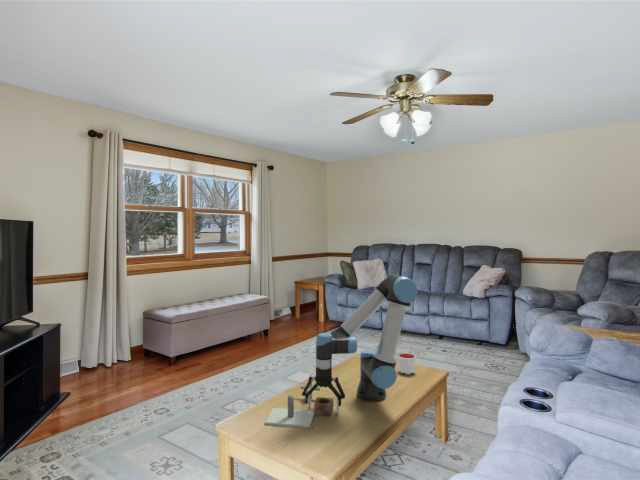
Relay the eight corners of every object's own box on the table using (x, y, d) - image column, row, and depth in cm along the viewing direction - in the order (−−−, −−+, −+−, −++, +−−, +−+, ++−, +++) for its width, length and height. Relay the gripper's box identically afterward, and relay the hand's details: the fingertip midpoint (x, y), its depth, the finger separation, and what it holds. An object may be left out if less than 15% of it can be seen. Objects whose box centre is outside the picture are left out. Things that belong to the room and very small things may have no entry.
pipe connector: (317, 403, 189) (317, 383, 189) (298, 401, 191) (298, 381, 191) (321, 394, 199) (321, 375, 199) (303, 393, 201) (303, 374, 201)
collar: (333, 408, 183) (333, 398, 183) (331, 416, 175) (331, 405, 175) (316, 407, 184) (316, 397, 184) (314, 415, 176) (314, 404, 176)
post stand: (314, 413, 178) (315, 391, 178) (309, 428, 165) (309, 405, 164) (273, 409, 181) (273, 389, 181) (265, 424, 167) (265, 401, 167)
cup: (405, 368, 239) (405, 352, 239) (418, 372, 232) (418, 356, 231) (394, 371, 233) (394, 355, 233) (408, 376, 225) (408, 359, 225)
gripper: (350, 365, 181) (350, 409, 182) (299, 362, 185) (298, 405, 185) (349, 371, 174) (349, 417, 174) (296, 367, 178) (295, 412, 178)
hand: (323, 411), depth 180 cm, fingers open, 13 cm apart
